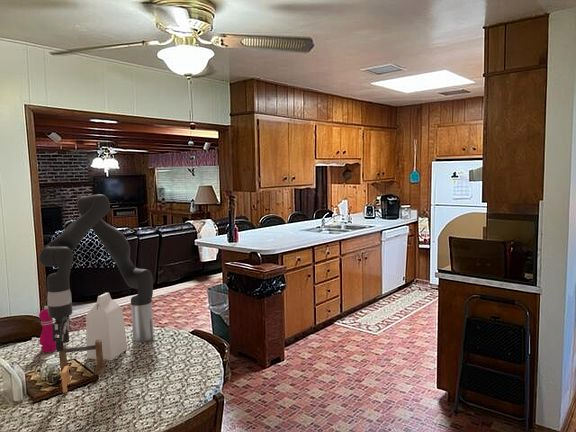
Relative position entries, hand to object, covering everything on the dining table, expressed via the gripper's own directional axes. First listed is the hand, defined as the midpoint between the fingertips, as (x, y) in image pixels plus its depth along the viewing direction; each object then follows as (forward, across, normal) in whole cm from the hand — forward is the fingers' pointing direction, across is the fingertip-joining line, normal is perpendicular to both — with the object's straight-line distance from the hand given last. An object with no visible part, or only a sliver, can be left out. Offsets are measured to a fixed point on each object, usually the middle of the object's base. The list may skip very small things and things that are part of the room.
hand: (63, 346), depth 156 cm
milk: (+16, +30, -10) cm, 36 cm away
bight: (+16, 0, 0) cm, 16 cm away
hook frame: (+16, +13, -3) cm, 21 cm away
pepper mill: (+16, +43, +16) cm, 49 cm away
